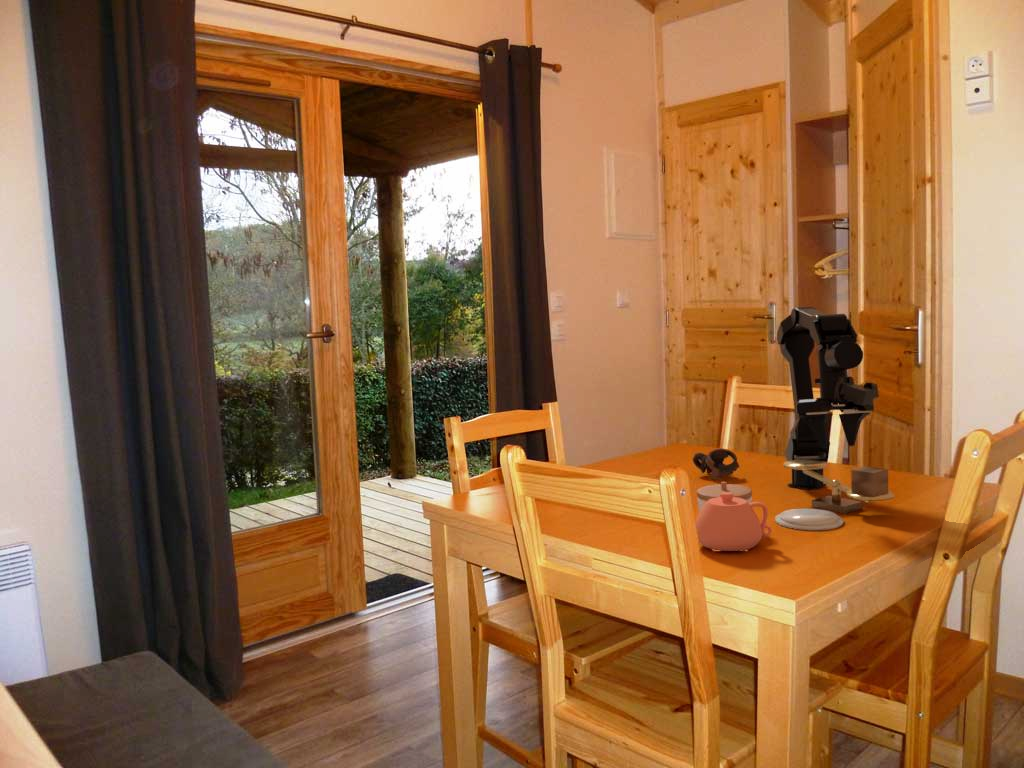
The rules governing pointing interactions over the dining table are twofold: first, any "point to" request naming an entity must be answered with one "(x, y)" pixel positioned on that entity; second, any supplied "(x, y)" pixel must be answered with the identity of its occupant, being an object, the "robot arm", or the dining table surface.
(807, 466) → the balance
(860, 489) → the block
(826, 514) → the dish
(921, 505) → the dining table surface
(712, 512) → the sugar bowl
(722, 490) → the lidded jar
